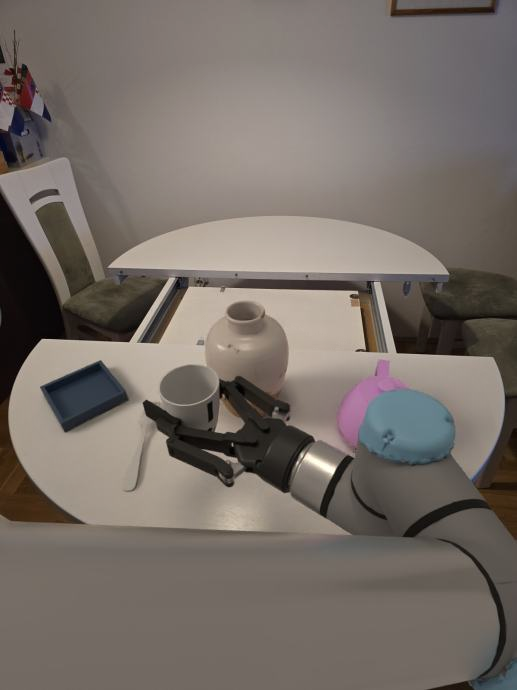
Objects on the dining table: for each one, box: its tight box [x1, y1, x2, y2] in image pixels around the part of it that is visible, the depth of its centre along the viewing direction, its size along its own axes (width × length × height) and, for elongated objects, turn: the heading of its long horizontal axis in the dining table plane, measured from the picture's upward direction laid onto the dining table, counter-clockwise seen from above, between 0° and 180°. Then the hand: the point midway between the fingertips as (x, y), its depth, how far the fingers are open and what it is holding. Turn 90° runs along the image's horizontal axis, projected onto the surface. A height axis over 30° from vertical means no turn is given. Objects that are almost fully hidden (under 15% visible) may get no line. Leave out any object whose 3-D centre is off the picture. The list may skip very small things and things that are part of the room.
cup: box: [157, 363, 221, 432], centre depth 57 cm, size 8×8×10 cm
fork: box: [121, 401, 160, 492], centre depth 77 cm, size 3×21×3 cm, turn 179°
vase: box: [204, 300, 290, 419], centre depth 78 cm, size 16×16×23 cm
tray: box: [39, 359, 130, 433], centre depth 86 cm, size 14×14×3 cm
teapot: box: [336, 358, 410, 449], centre depth 74 cm, size 22×16×12 cm
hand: (168, 390), depth 59 cm, fingers closed on cup, 8 cm apart
